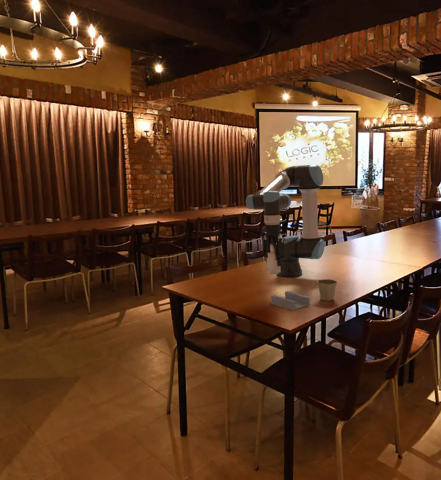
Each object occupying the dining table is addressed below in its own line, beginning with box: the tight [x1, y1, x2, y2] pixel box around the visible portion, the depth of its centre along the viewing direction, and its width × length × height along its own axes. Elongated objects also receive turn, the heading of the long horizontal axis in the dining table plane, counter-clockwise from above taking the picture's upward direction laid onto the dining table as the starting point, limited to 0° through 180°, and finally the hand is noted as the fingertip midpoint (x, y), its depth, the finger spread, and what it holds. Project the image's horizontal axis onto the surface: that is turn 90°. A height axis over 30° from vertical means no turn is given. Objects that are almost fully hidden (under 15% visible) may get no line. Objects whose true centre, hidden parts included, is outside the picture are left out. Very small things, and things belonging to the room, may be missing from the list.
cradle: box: [270, 290, 311, 311], centre depth 183 cm, size 14×11×4 cm
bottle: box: [267, 243, 279, 275], centre depth 189 cm, size 5×5×15 cm
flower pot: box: [316, 278, 338, 302], centre depth 188 cm, size 9×9×9 cm
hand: (273, 271), depth 190 cm, fingers closed on bottle, 5 cm apart
